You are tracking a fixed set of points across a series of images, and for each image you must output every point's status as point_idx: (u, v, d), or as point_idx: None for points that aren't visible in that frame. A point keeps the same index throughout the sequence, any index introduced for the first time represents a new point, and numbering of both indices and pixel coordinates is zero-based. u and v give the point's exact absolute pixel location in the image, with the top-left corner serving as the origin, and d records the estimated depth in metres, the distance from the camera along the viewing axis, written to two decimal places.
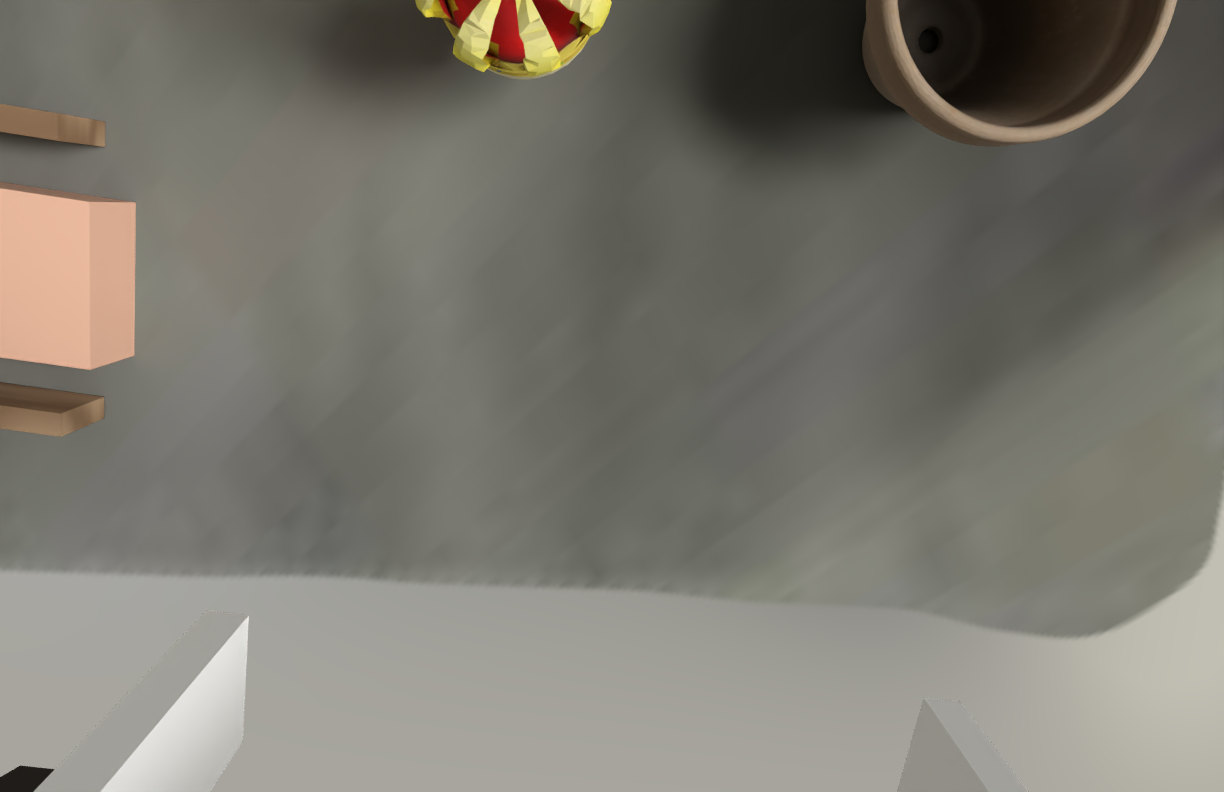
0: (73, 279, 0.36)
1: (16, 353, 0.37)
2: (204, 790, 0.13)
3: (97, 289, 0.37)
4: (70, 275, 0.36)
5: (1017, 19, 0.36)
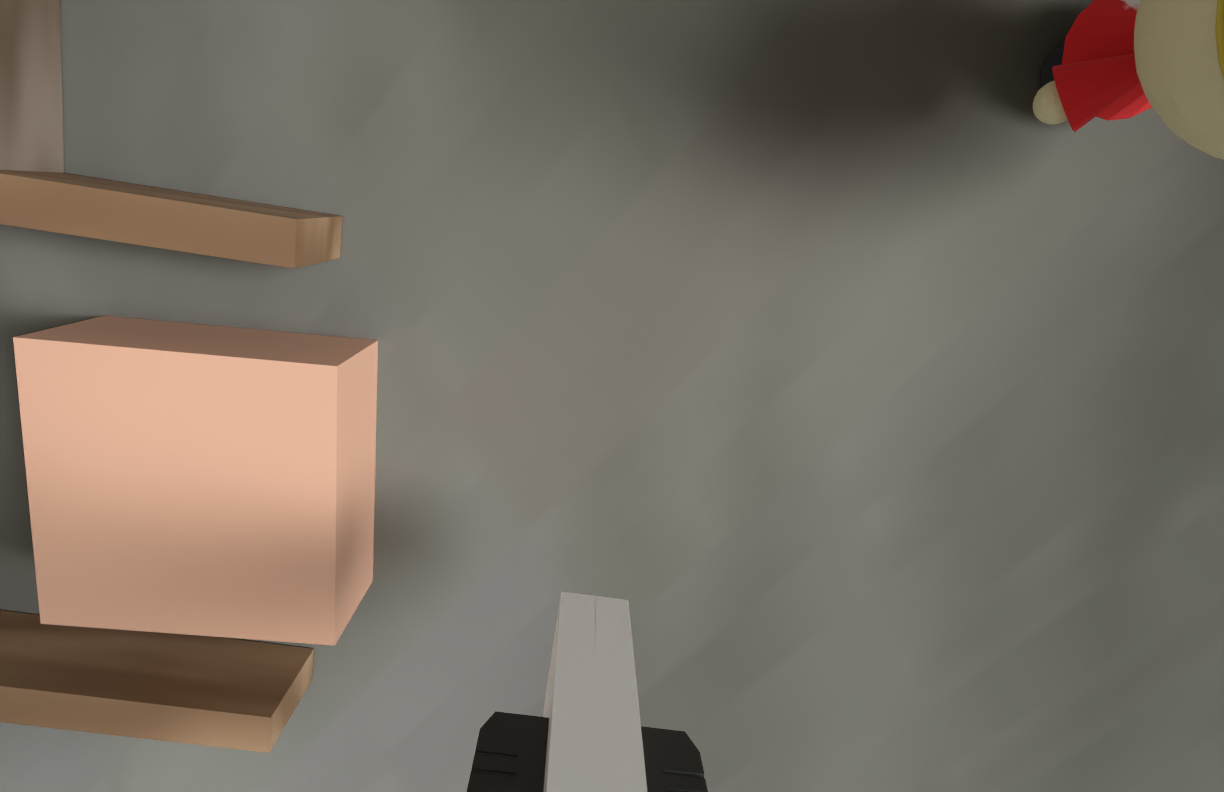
0: (308, 500, 0.20)
1: (208, 626, 0.21)
2: None
3: (342, 508, 0.21)
4: (301, 493, 0.20)
5: None
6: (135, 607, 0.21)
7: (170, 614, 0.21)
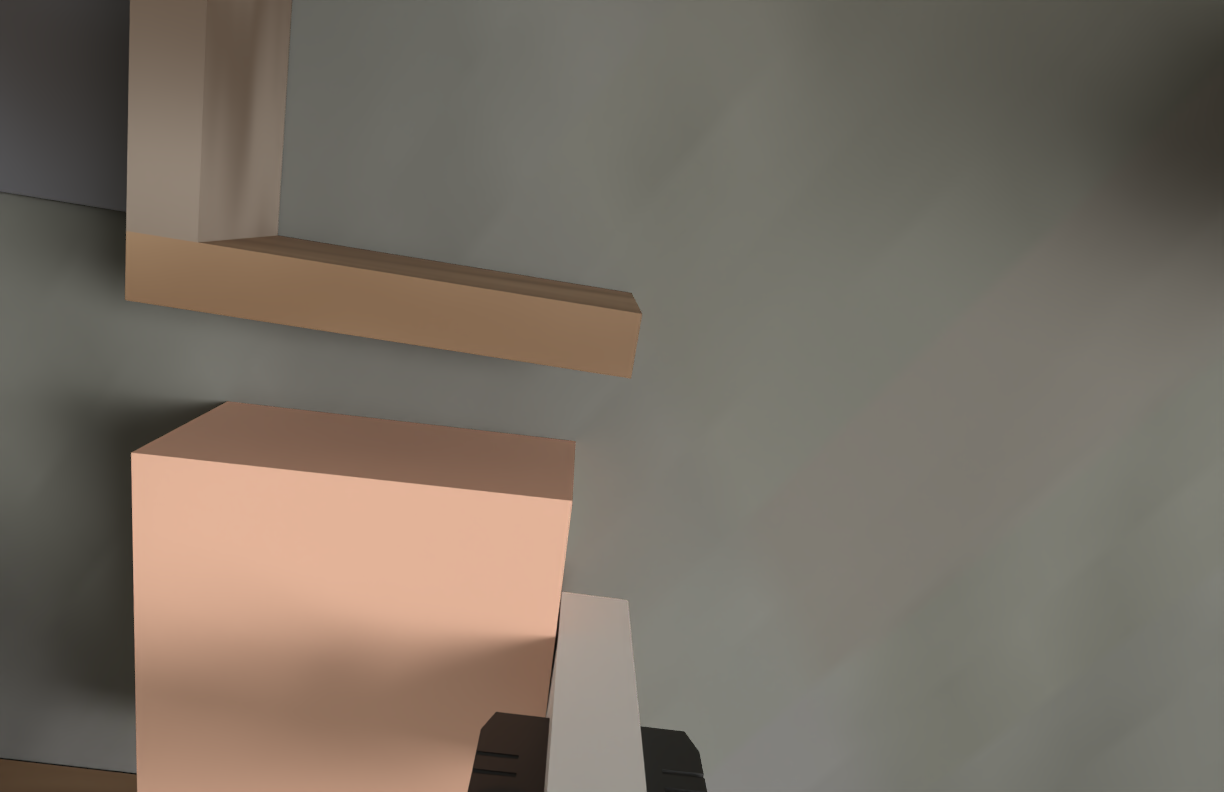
0: (513, 672, 0.15)
1: None
2: None
3: None
4: (506, 663, 0.15)
5: None
6: None
7: None
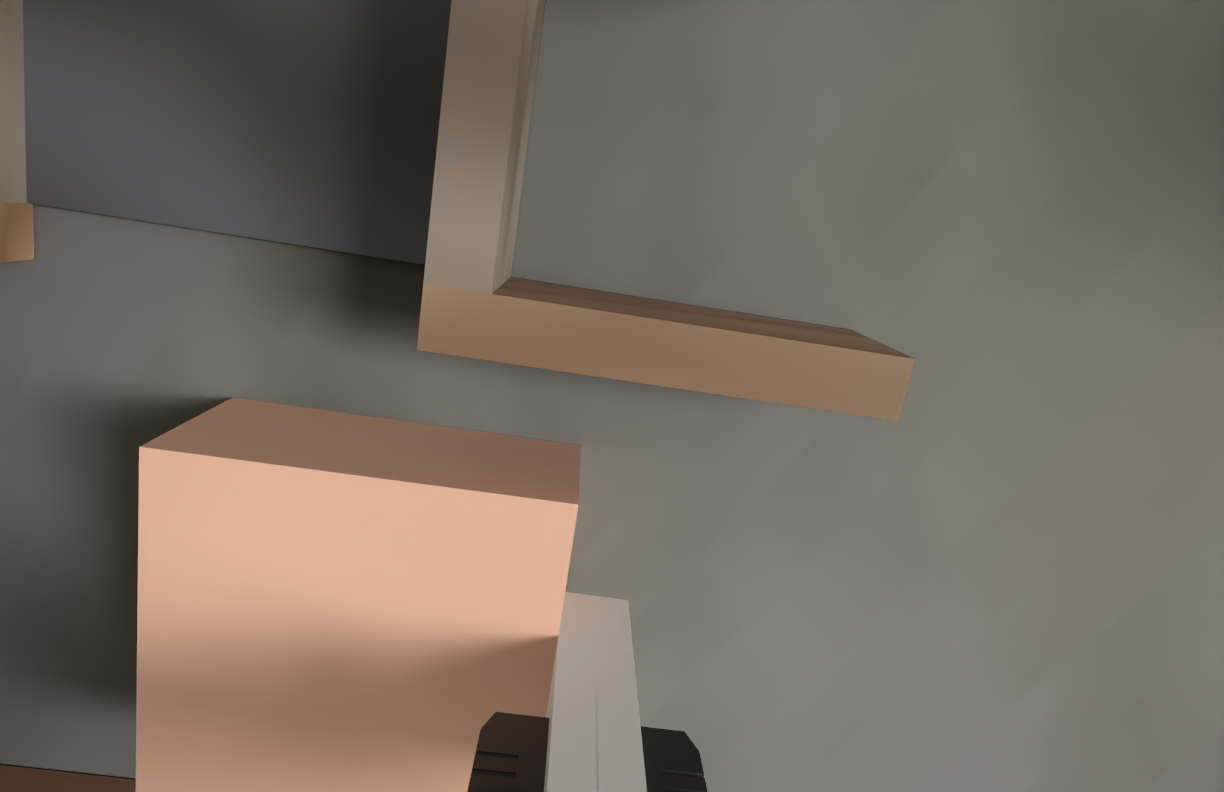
0: (514, 674, 0.15)
1: None
2: None
3: None
4: (507, 664, 0.15)
5: None
6: None
7: None
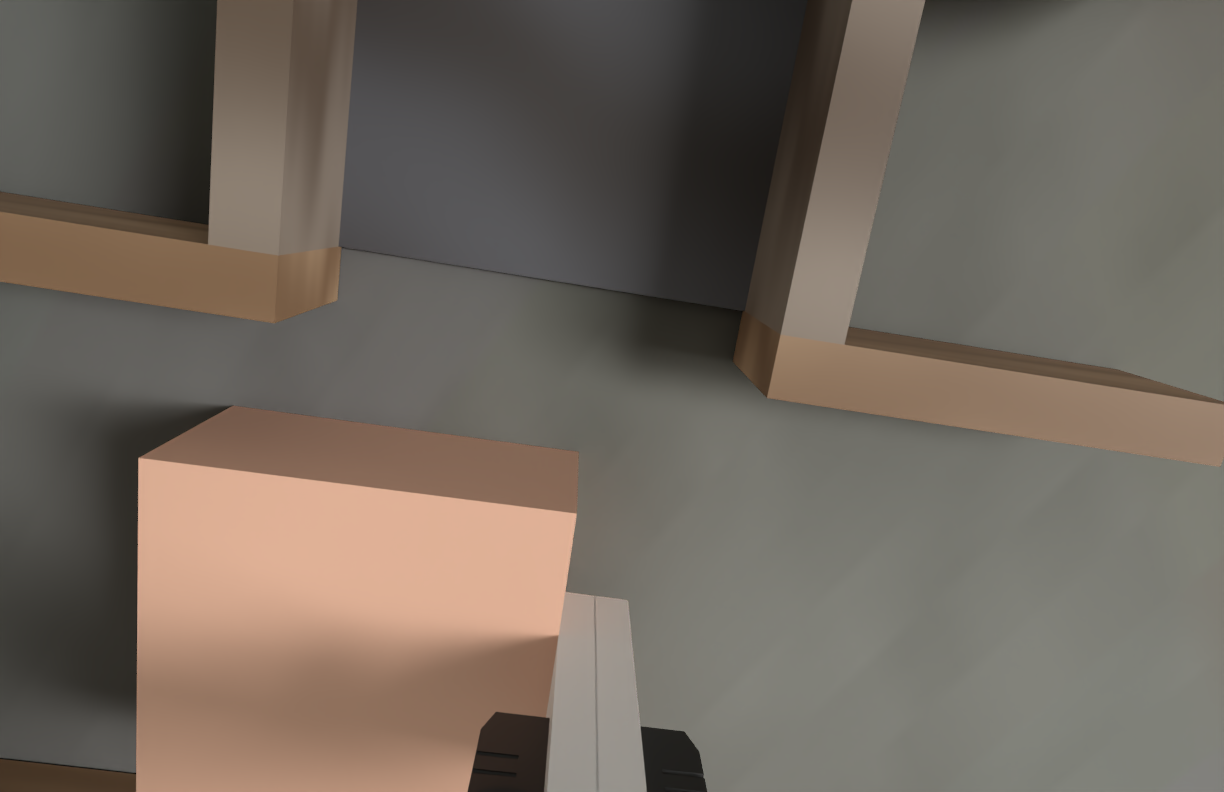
0: (514, 683, 0.15)
1: None
2: None
3: None
4: (507, 673, 0.15)
5: None
6: None
7: None
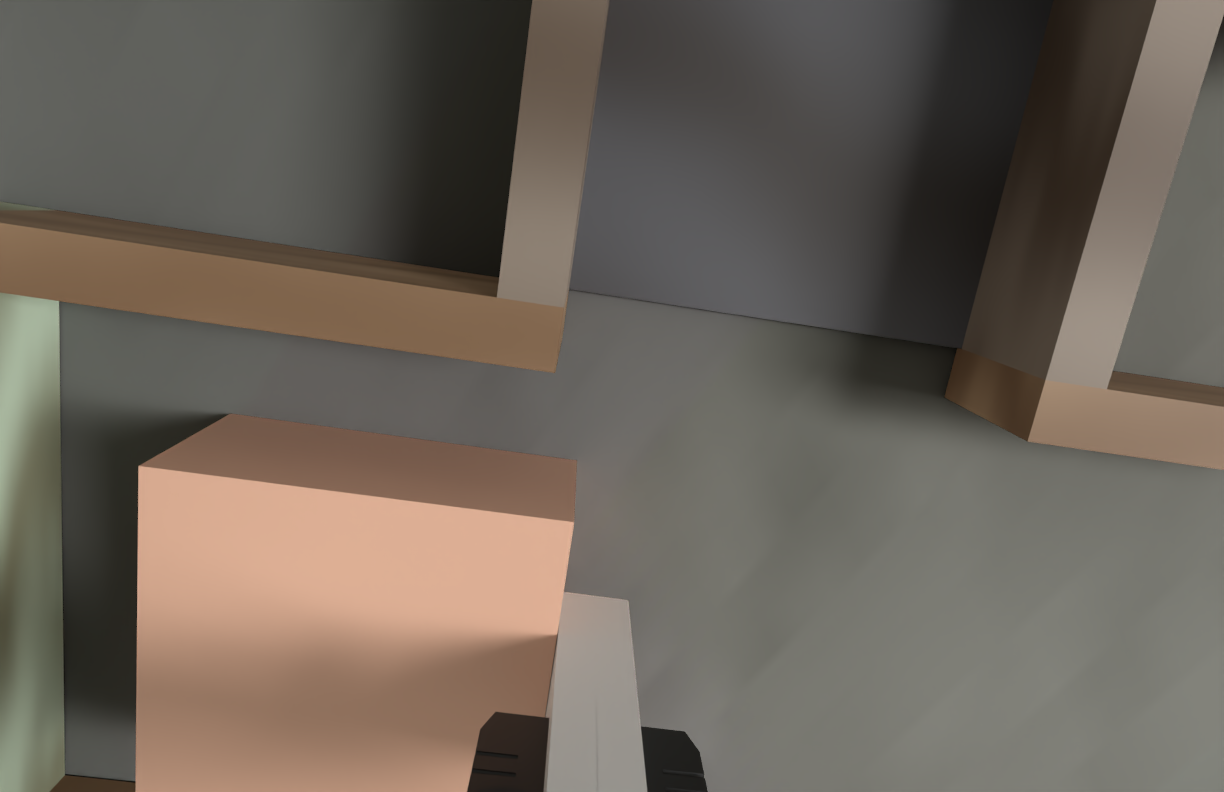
0: (511, 690, 0.15)
1: None
2: None
3: None
4: (504, 680, 0.15)
5: None
6: None
7: None
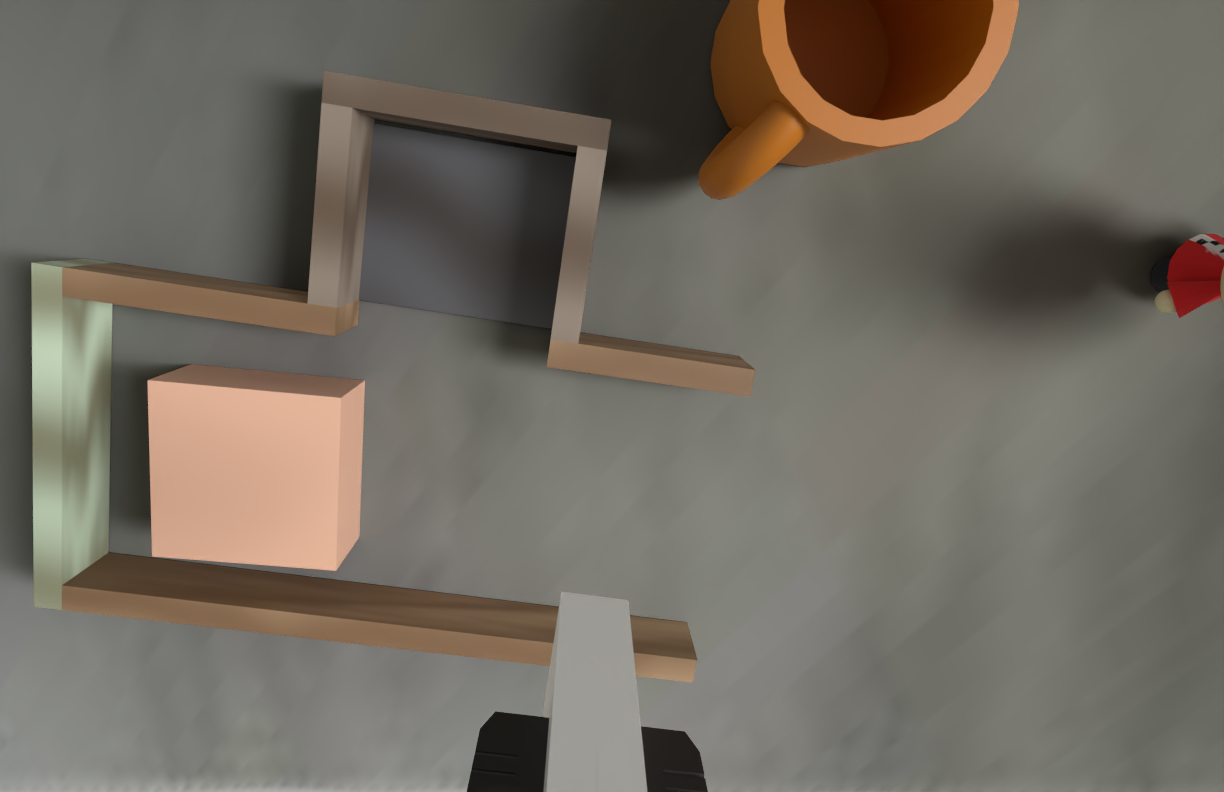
0: (321, 479, 0.33)
1: (257, 558, 0.34)
2: None
3: (342, 484, 0.34)
4: (317, 474, 0.33)
5: None
6: (212, 546, 0.34)
7: (233, 550, 0.34)
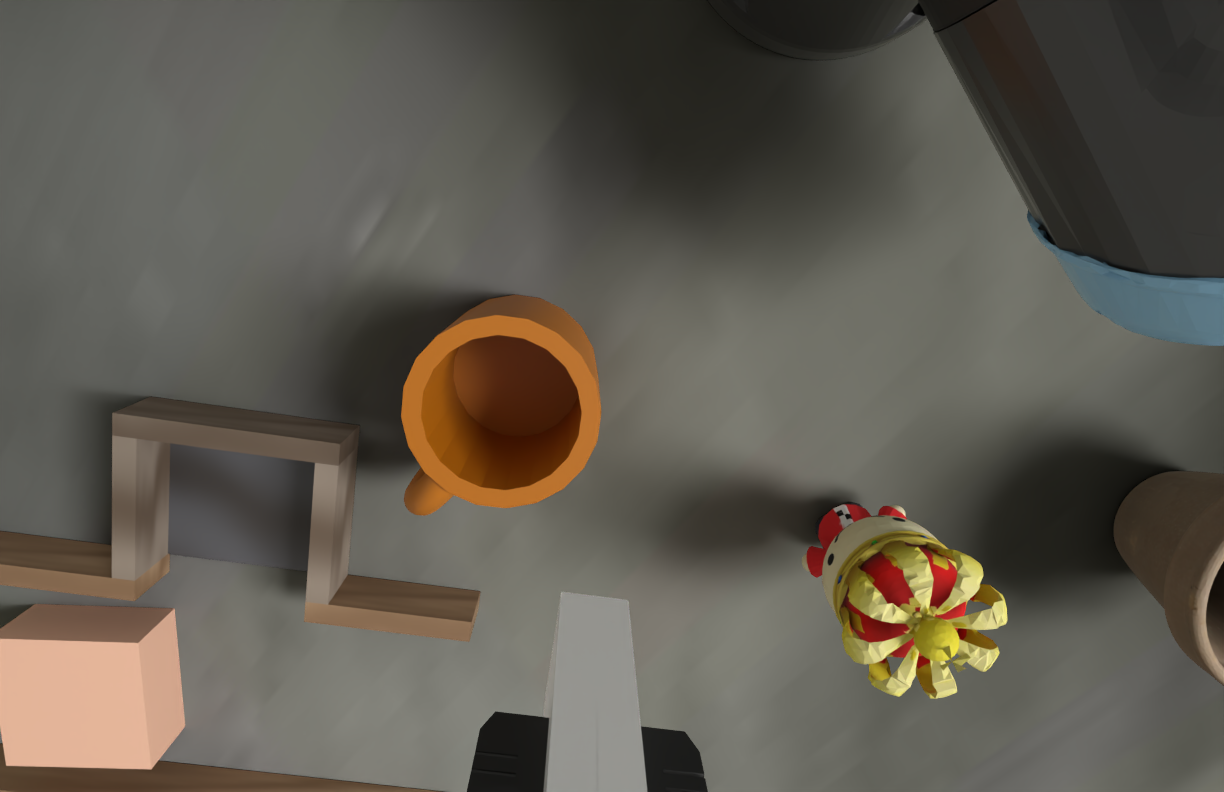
0: (130, 702, 0.42)
1: (88, 763, 0.43)
2: None
3: (150, 703, 0.43)
4: (127, 699, 0.42)
5: None
6: (52, 755, 0.43)
7: (69, 758, 0.43)
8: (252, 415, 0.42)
